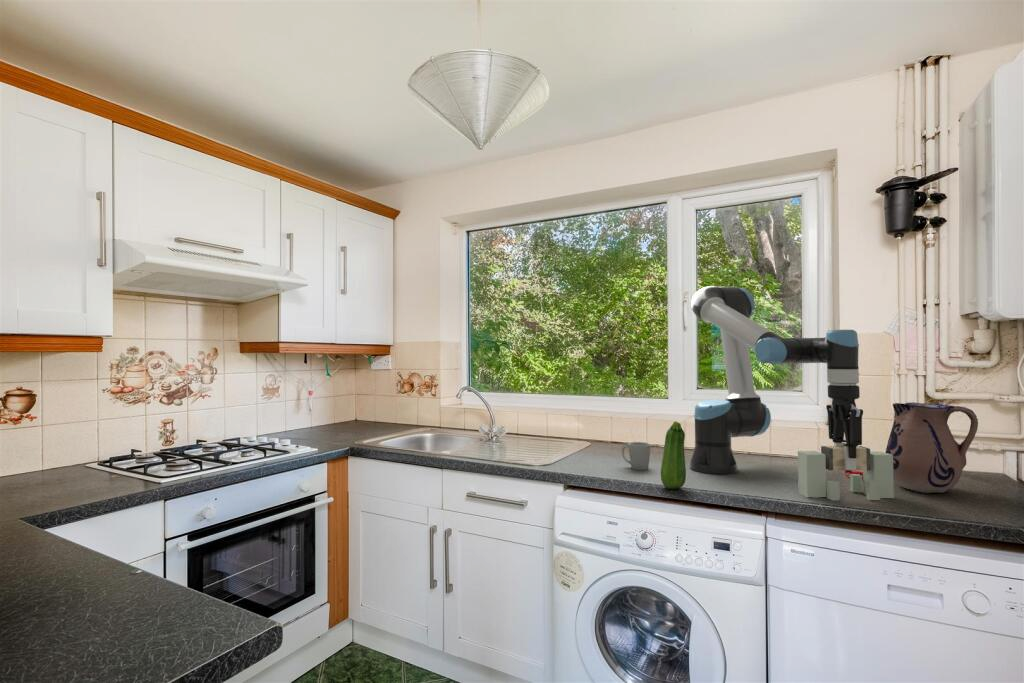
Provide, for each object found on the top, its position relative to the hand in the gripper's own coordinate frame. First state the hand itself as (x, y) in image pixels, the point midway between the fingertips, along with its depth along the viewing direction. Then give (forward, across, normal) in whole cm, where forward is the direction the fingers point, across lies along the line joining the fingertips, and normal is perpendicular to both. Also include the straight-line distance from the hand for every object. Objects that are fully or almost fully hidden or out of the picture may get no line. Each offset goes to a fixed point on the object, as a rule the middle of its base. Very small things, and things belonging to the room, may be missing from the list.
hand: (845, 467), depth 143 cm
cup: (+8, +32, +52) cm, 62 cm away
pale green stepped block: (+8, 0, +8) cm, 11 cm away
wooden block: (0, 0, 0) cm, 0 cm away
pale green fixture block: (+8, 0, -8) cm, 11 cm away
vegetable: (+8, +6, +46) cm, 47 cm away
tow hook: (+8, +22, -18) cm, 30 cm away
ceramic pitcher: (+8, +7, -28) cm, 30 cm away
